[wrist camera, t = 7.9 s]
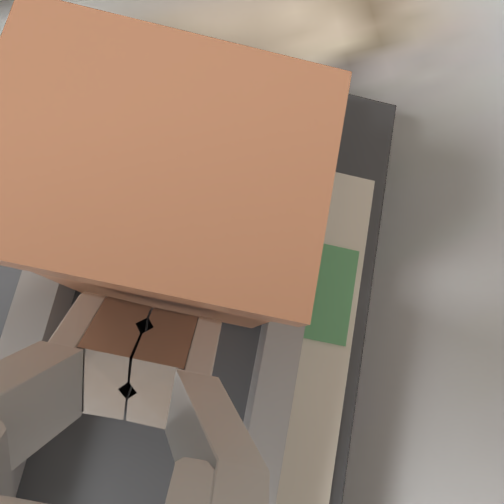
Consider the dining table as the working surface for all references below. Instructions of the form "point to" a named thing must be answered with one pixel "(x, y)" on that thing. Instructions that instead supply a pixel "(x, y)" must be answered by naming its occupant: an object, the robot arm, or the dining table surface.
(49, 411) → the robot arm
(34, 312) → the switch board
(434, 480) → the dining table surface
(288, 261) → the switch tab
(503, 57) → the dining table surface
